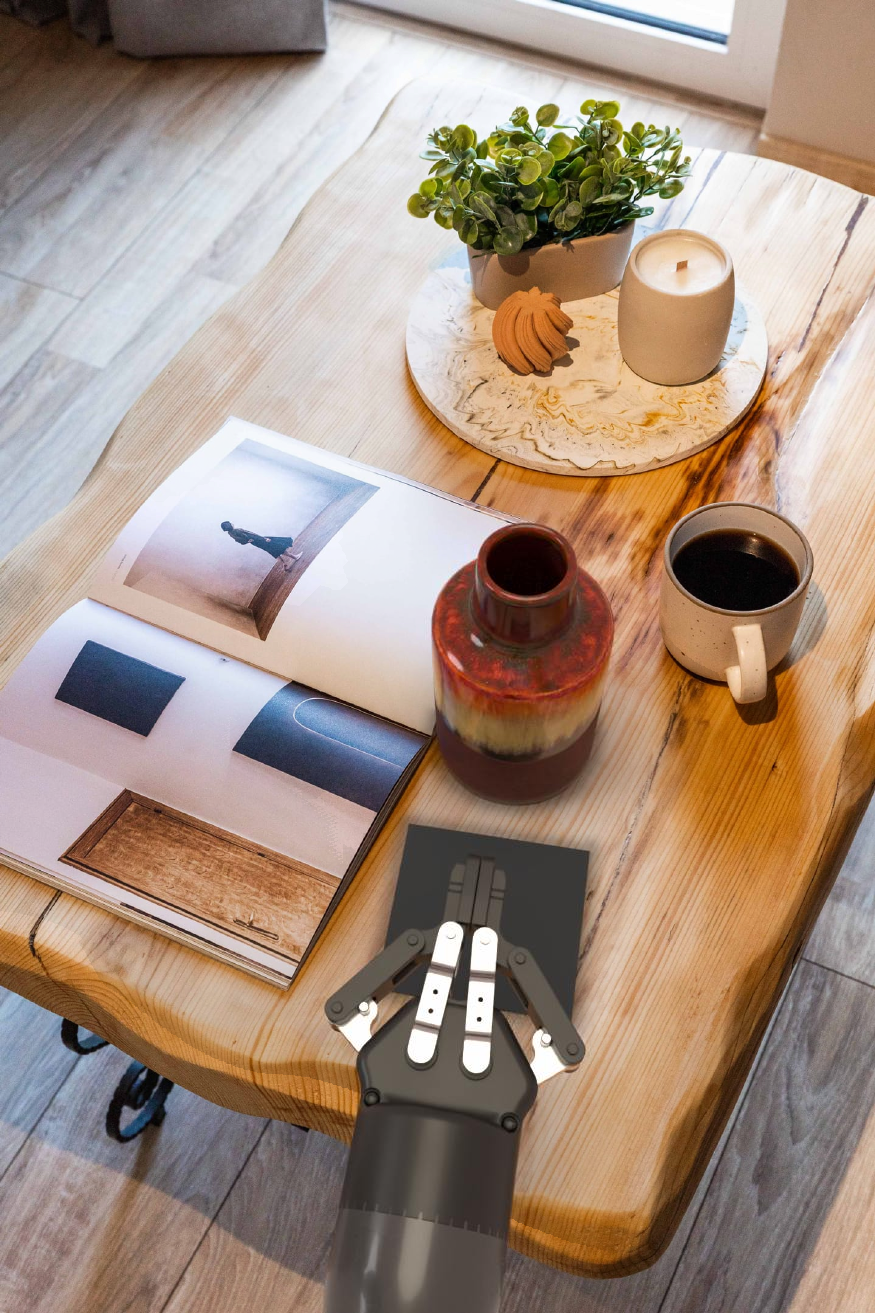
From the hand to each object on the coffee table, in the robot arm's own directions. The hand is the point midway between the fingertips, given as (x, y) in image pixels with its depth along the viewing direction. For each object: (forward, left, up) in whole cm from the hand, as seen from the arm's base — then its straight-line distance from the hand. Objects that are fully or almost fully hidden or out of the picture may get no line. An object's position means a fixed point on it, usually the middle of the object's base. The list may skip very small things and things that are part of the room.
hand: (481, 860), depth 57 cm
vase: (0, +15, -15) cm, 21 cm away
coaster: (0, +2, -15) cm, 15 cm away
